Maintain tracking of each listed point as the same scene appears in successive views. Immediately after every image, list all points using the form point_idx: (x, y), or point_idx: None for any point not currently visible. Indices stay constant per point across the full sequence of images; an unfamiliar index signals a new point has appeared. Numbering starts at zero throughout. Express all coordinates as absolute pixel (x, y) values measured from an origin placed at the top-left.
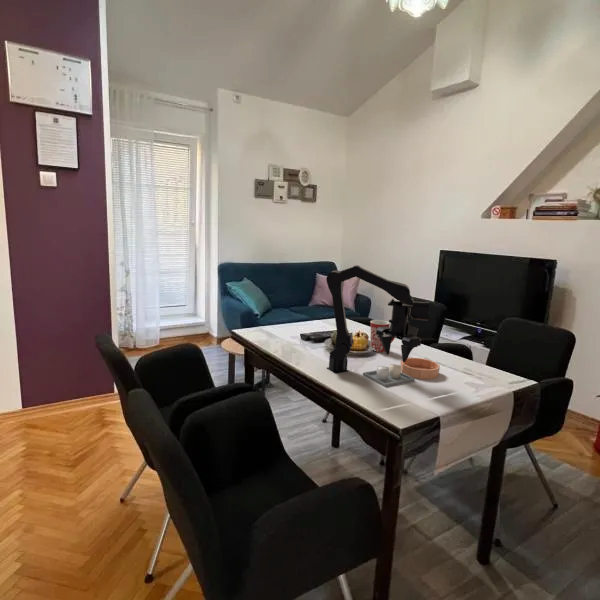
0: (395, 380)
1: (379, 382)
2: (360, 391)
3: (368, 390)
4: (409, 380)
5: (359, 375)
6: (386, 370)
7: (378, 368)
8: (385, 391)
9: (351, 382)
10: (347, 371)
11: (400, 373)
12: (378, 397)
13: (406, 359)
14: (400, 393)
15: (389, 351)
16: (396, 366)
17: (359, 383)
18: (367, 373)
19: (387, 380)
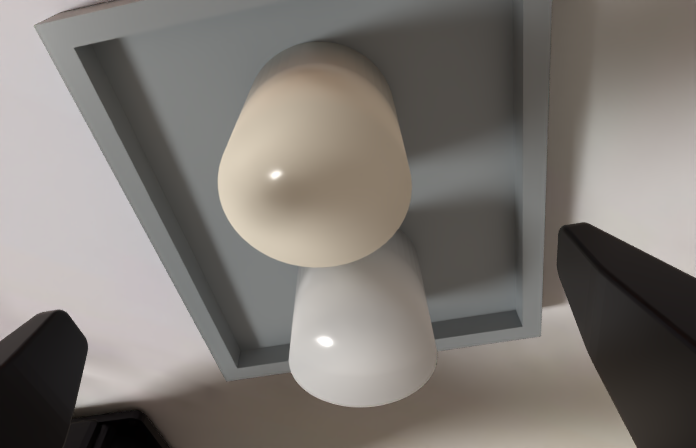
0: (432, 162)
1: (461, 340)
2: (505, 444)
3: (512, 408)
4: (546, 21)
5: (213, 366)
6: (436, 350)
7: (371, 405)
8: None
9: (347, 442)
10: (146, 423)
11: (377, 85)
12: None
13: (628, 251)
14: (688, 247)
15: (24, 352)
16: (351, 193)
17: (377, 413)
18: (230, 345)
19: (410, 240)
